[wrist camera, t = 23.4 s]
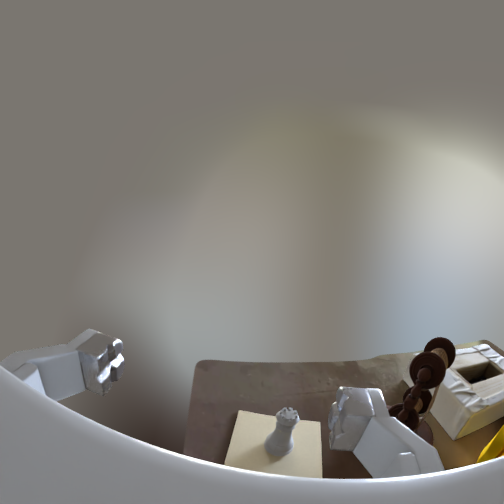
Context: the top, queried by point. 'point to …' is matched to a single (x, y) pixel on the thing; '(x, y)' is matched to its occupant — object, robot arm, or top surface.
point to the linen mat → (258, 459)
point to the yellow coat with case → (493, 448)
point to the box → (468, 391)
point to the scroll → (424, 386)
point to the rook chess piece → (282, 433)
